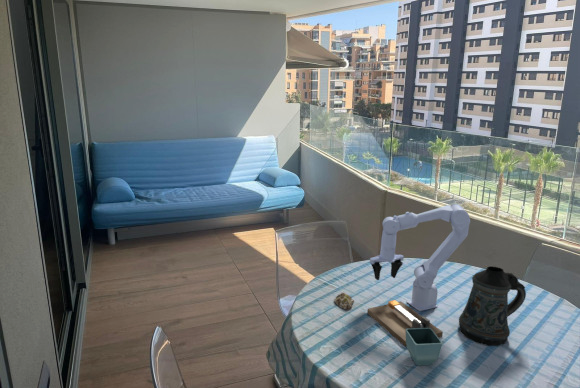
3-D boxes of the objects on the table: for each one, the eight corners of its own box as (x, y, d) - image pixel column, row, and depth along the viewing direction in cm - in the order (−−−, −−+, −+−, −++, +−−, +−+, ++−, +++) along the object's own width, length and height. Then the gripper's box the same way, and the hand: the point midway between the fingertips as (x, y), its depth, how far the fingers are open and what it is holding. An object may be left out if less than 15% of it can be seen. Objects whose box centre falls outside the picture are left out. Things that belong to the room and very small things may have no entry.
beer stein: (447, 325, 146) (455, 263, 140) (485, 315, 153) (494, 255, 147) (485, 351, 131) (495, 282, 125) (525, 338, 138) (536, 273, 133)
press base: (400, 305, 159) (402, 290, 158) (442, 336, 139) (444, 319, 137) (367, 313, 153) (368, 297, 152) (405, 346, 133) (407, 328, 131)
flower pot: (402, 352, 130) (404, 328, 128) (428, 351, 131) (430, 327, 128) (412, 370, 121) (415, 344, 119) (440, 369, 122) (443, 343, 120)
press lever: (394, 304, 152) (394, 300, 152) (425, 329, 137) (426, 324, 136) (387, 305, 151) (388, 301, 151) (418, 331, 136) (419, 326, 135)
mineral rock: (330, 293, 165) (349, 287, 165) (333, 301, 166) (351, 296, 166) (336, 307, 154) (356, 301, 155) (339, 316, 156) (358, 310, 156)
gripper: (377, 252, 151) (374, 284, 154) (409, 248, 156) (405, 280, 159) (368, 245, 158) (365, 276, 161) (399, 242, 162) (395, 272, 165)
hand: (385, 278), depth 160 cm, fingers open, 7 cm apart
